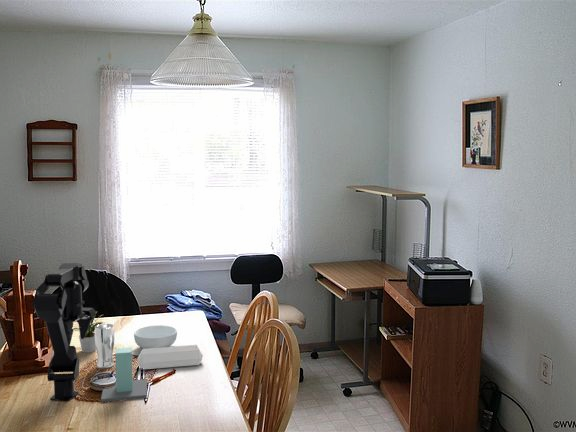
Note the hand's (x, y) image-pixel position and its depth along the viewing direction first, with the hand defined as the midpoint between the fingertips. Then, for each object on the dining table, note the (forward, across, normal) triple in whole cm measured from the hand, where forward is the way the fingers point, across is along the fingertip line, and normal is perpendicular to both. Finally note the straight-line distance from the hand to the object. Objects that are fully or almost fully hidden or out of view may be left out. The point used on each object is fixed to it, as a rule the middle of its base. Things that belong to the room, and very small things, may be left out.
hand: (75, 343), depth 204 cm
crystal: (+14, -20, +26) cm, 36 cm away
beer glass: (+14, -15, +3) cm, 20 cm away
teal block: (+12, +6, +21) cm, 25 cm away
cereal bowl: (+14, -37, +12) cm, 42 cm away
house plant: (+14, -28, -13) cm, 34 cm away
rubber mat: (+13, +6, +21) cm, 26 cm away
